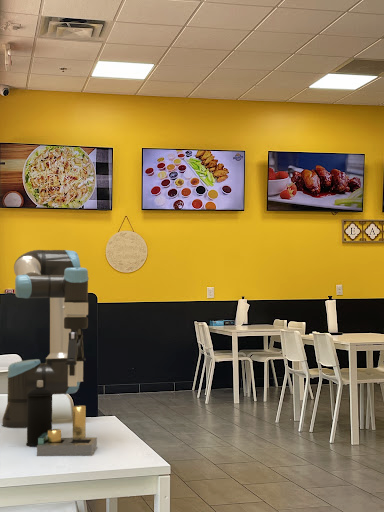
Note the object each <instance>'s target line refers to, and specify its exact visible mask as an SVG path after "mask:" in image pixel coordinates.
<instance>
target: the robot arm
mask: <svg viewBox="0 0 384 512" xmlns="http://www.w3.org/2000/svg"><path fill="white" fill-rule="evenodd" d="M13 272H14V274H15V280H14V292H15V294H14V295H15V297H16V298H19V299H20V298H21V299H44V298H45V299H47V298H49V354H48V355H47V357H45V362H44V363H43V362H42V363H41V359H39V358H38V359H37V358H35V359H26V360H20V361H16V362H13V363H11V364H9V365H8V368H7V376H6V377H7V405H6V407H5V411H4V413H3V417H2V424H3V425H4V426H3V425H2V426H3V427H5V426H7V427H6V428H13V429H14V428H27V394H28V393H29V392H30V391H31V390H32V389H34V388H36V387H37V381H38V380H43V387H44V388H47V389H49V390H50V391H51V393H53V395H68V394H76V393H77V392H78V390H79V389H80V384H81V382H84V362H86V357H85V355H84V354H85V353H84V341H83V340H84V335H83V334H84V331H83V330H85V329H88V326H89V318H88V317H87V316H89V299H88V298H89V297H88V296H89V280H90V279H89V270H88V269H87V268H86V267H81V261H80V257H79V254H78V253H77V252H76V251H75V250H67V249H34V250H30V251H26V252H25V253H22V254H21V255H20V256H19V257H18V258H16V260H15V262H14V265H13Z"/></svg>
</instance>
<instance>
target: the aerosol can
mask: <svg viewBox="0 0 384 512" xmlns="http://www.w3.org/2000/svg"><path fill="white" fill-rule="evenodd" d="M53 395H54V394H53V393H51V391H50V390H49V389H47V388H44V387H43V380H38V381H37V387H36V388H34V389H32V390H31V391H30V392H29V393H28V394H27V427H26V443H25V445H26V446H27V447H32V448H37V445H38V438H39V437H40V436H41V435H42V434H43V433H48V430H51V429H53Z"/></svg>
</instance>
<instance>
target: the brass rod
mask: <svg viewBox="0 0 384 512" xmlns="http://www.w3.org/2000/svg"><path fill="white" fill-rule="evenodd" d="M86 407H87V406H86V405H73V406H72V438H87V437H86V423H87V422H86V414H87V413H86V410H87V409H86Z"/></svg>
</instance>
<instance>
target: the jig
mask: <svg viewBox="0 0 384 512" xmlns="http://www.w3.org/2000/svg"><path fill="white" fill-rule="evenodd" d="M97 439H98V438H97V437H86V438H73V437H62V429H59V428H54V429H53V428H52V429H51V430H48V433H43V434H42V435H41V436H40V437H39V438H38V445H37V447H36V456H37V457H45V456H46V457H57V456H58V457H61V456H63V457H66V456H72V457H73V456H76V457H77V456H82V457H83V456H93V454H94V453H95V451H96V449H97V443H98V441H97Z"/></svg>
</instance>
